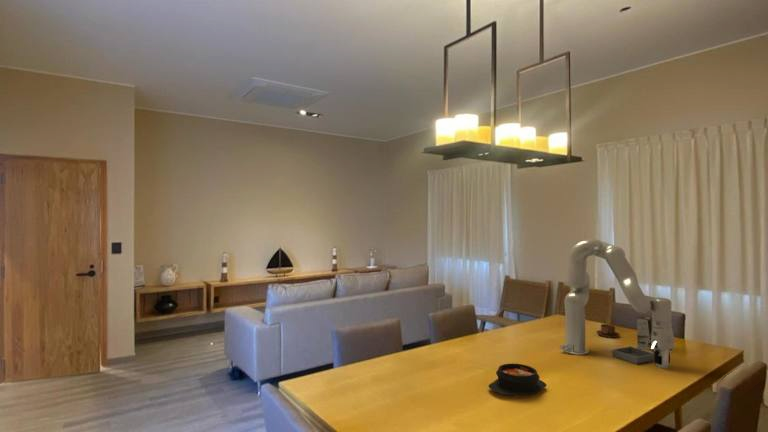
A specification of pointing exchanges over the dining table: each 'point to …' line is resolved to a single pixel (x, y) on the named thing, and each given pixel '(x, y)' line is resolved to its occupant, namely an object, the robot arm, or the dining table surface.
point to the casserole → (517, 380)
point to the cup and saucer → (608, 331)
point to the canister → (664, 359)
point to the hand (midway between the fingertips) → (662, 362)
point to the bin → (633, 355)
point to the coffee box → (644, 332)
